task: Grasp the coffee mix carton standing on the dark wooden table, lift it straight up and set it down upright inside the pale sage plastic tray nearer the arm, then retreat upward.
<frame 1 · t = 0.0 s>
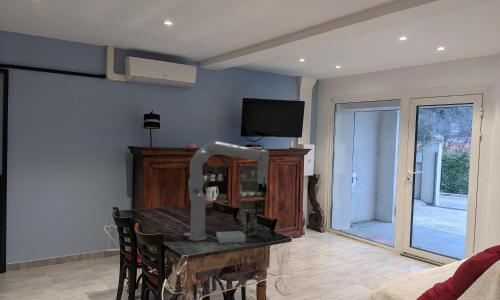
hand: (262, 191, 266), 31 cm above the table, tool pointing down, fingers open, 9 cm apart
tray: (230, 240, 253), on the table
coffee box: (248, 235, 268), on the table
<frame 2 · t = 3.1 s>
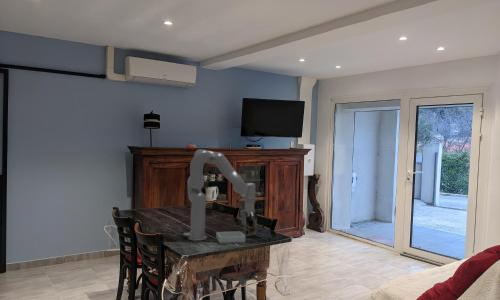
hand: (249, 224, 268), 7 cm above the table, tool pointing down, fingers closed on coffee box, 8 cm apart
coffee box: (248, 234, 268), on the table, touching gripper
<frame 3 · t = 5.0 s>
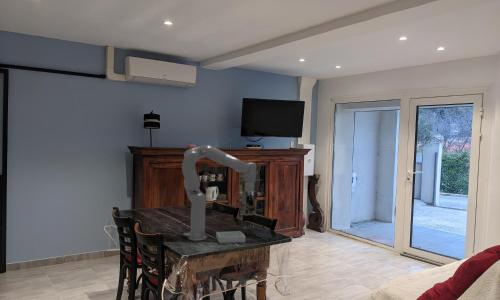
hand: (249, 204, 268), 22 cm above the table, tool pointing down, fingers closed on coffee box, 8 cm apart
coffee box: (248, 214, 268), point 14 cm above the table, touching gripper
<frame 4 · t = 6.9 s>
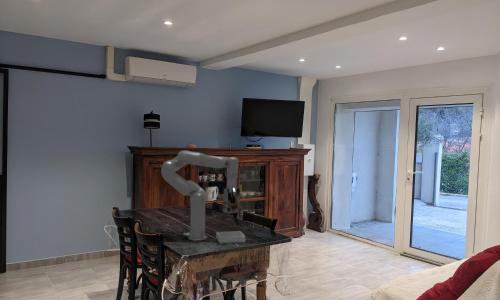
hand: (231, 201, 252), 26 cm above the table, tool pointing down, fingers closed on coffee box, 8 cm apart
coffee box: (230, 212, 252), point 18 cm above the table, touching gripper
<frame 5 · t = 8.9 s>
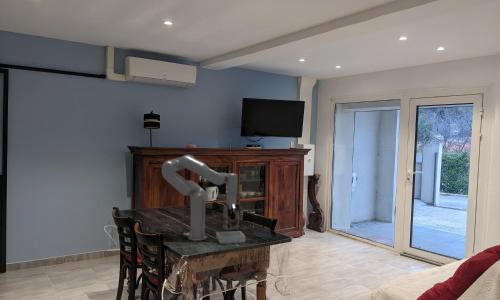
hand: (231, 217, 252), 15 cm above the table, tool pointing down, fingers closed on coffee box, 8 cm apart
coffee box: (231, 228, 252), point 8 cm above the table, touching gripper
when the fingers open (10 cm above the table, at t = 10.6 s): coffee box drops 2 cm, resting on tray.
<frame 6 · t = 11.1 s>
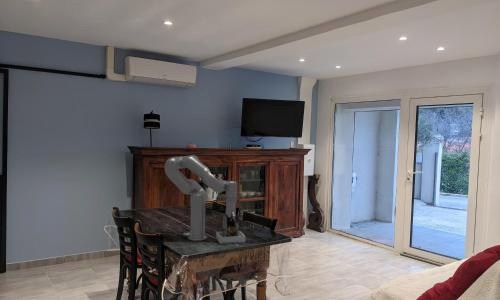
hand: (230, 225, 252), 10 cm above the table, tool pointing down, fingers open, 9 cm apart
coffee box: (230, 239, 253), point 1 cm above the table, touching tray
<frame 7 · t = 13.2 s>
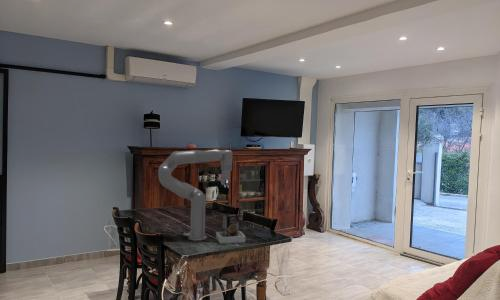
hand: (225, 193, 258), 31 cm above the table, tool pointing down, fingers open, 9 cm apart
nothing on the table moved.
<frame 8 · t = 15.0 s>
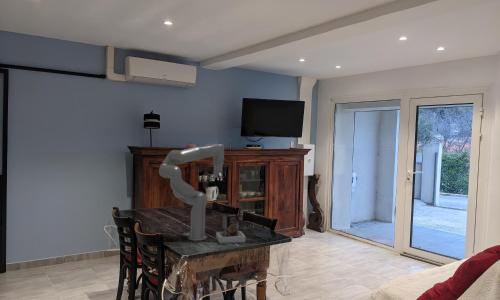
hand: (217, 185, 267), 34 cm above the table, tool pointing down, fingers open, 9 cm apart
nothing on the table moved.
at the end: coffee box inside the target area on the tray (0.2 cm from its centre), point 0.6 cm above the tray's base; coffee box tilted 0°; the gripper is holding nothing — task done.
